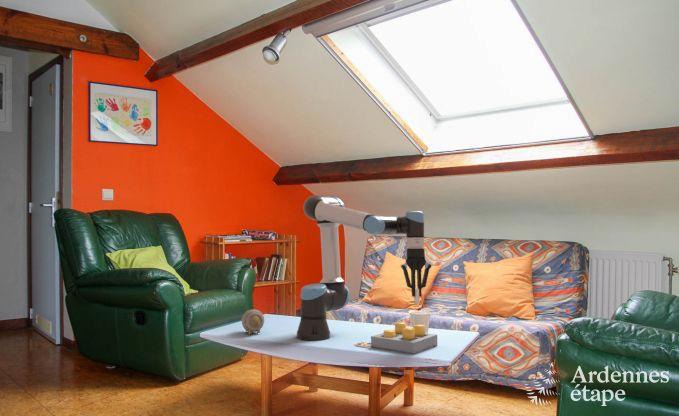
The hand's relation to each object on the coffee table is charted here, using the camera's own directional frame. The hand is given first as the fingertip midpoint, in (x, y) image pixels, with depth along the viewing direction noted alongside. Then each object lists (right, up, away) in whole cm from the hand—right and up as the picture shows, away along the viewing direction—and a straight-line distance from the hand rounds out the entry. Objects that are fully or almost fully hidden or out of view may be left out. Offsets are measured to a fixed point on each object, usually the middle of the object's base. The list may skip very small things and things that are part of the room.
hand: (416, 304), depth 218 cm
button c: (-6, -14, +6) cm, 16 cm away
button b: (-4, -14, -7) cm, 16 cm away
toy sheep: (-73, -19, +27) cm, 80 cm away
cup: (+4, -18, +18) cm, 26 cm away
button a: (-12, -16, -2) cm, 20 cm away
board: (-5, -17, -1) cm, 18 cm away
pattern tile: (-22, -17, +1) cm, 28 cm away
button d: (+1, -14, 0) cm, 14 cm away
